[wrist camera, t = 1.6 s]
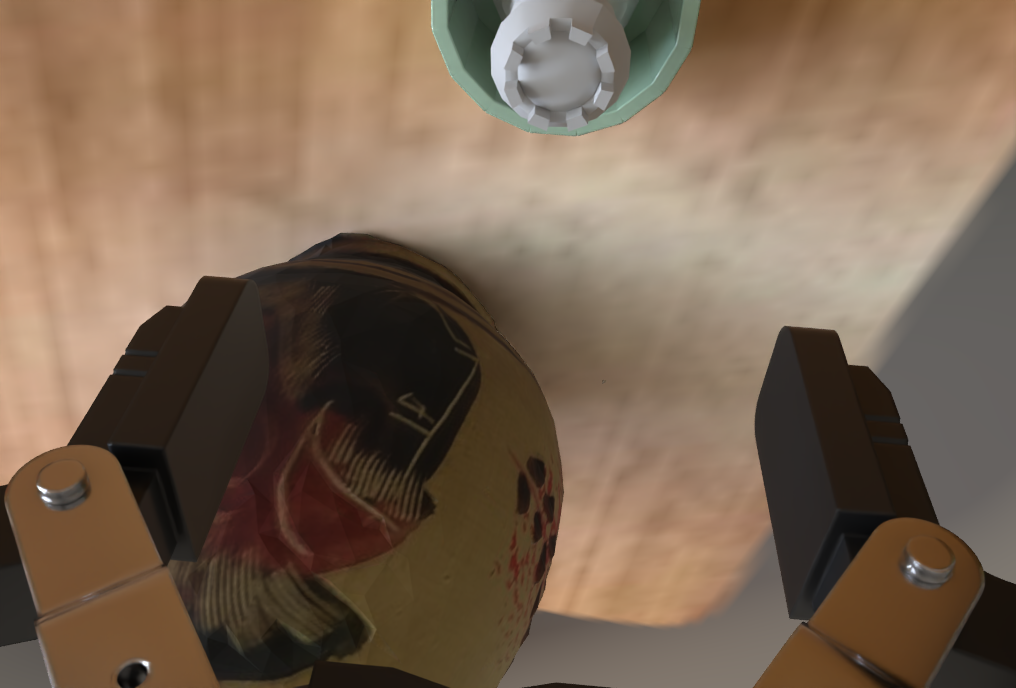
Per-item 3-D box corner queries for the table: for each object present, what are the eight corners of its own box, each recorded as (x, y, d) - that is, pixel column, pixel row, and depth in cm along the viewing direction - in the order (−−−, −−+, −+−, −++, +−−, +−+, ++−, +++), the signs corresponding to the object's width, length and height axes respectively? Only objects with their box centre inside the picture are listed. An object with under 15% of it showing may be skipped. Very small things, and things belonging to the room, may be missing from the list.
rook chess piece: (547, -155, 24) (532, -66, 18) (676, -56, 26) (702, 56, 20) (461, -15, 27) (423, 103, 21) (583, 67, 28) (580, 201, 22)
